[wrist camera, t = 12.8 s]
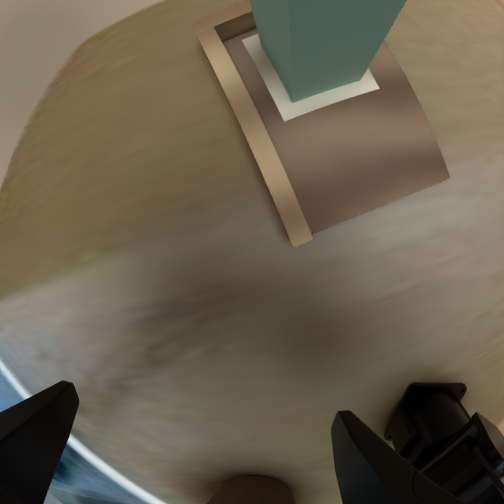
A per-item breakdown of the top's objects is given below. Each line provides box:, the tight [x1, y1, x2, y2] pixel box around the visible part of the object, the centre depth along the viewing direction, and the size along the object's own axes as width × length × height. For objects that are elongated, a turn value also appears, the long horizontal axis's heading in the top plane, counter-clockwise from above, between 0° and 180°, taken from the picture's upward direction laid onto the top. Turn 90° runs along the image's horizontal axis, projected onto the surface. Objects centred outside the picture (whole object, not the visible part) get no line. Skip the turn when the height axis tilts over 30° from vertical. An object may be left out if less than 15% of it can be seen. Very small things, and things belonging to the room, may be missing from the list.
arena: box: [191, 0, 450, 248], centre depth 16 cm, size 16×12×3 cm
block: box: [249, 0, 406, 103], centre depth 11 cm, size 5×5×12 cm
